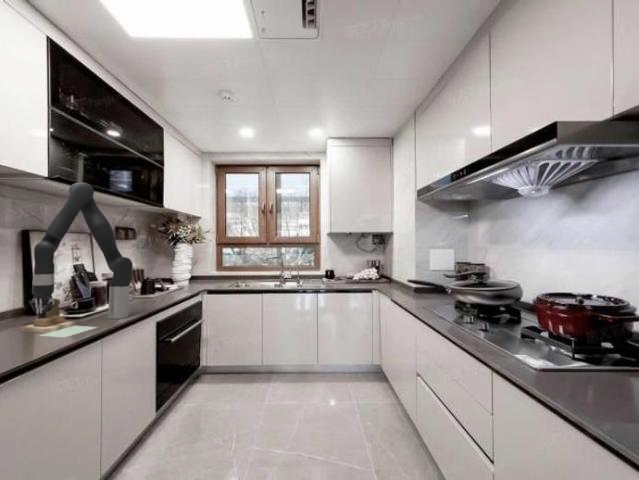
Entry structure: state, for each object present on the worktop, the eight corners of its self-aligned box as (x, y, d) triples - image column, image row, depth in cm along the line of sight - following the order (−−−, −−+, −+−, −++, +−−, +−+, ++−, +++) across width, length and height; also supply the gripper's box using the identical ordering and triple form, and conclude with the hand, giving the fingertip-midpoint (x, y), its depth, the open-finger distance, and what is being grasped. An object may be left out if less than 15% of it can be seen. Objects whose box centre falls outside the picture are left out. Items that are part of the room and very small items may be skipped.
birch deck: (50, 324, 143) (50, 320, 143) (75, 325, 141) (75, 321, 141) (20, 331, 130) (20, 327, 130) (47, 333, 128) (47, 329, 128)
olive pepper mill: (63, 319, 152) (64, 298, 153) (51, 322, 146) (53, 300, 147) (53, 318, 153) (54, 297, 153) (41, 321, 147) (42, 299, 147)
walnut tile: (54, 321, 140) (54, 315, 140) (64, 322, 140) (65, 316, 140) (33, 326, 131) (33, 319, 132) (44, 327, 131) (45, 320, 131)
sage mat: (74, 326, 140) (74, 325, 140) (97, 327, 139) (97, 327, 139) (38, 336, 124) (38, 335, 124) (64, 338, 123) (64, 337, 123)
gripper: (63, 283, 140) (61, 319, 139) (40, 282, 141) (38, 317, 141) (47, 285, 132) (45, 323, 132) (22, 283, 134) (20, 321, 133)
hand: (41, 320), depth 136 cm, fingers closed
